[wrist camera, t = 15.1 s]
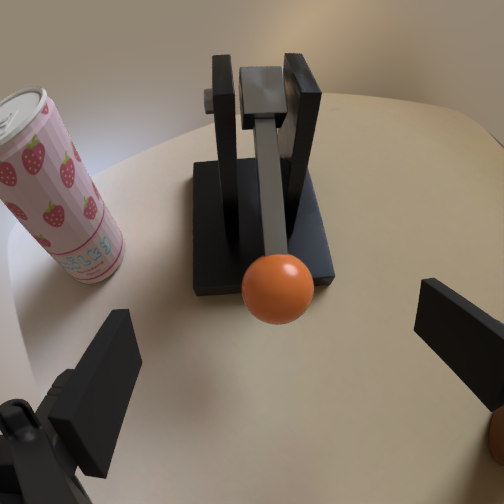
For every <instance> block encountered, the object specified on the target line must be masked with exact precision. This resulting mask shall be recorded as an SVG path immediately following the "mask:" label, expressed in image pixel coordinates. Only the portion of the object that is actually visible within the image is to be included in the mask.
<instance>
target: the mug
mask: <svg viewBox="0 0 504 504" xmlns="http://www.w3.org/2000/svg"><path fill="white" fill-rule="evenodd" d="M489 444H490V449H491V453H492V455H493V457H494V459H495V460H496V461H497V462H498V463H499V464H501V465H503V466H504V406H502V407H500V408H498V409H496V410H495V412H494V414H493V417H492V421H491V425H490V432H489Z"/></svg>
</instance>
